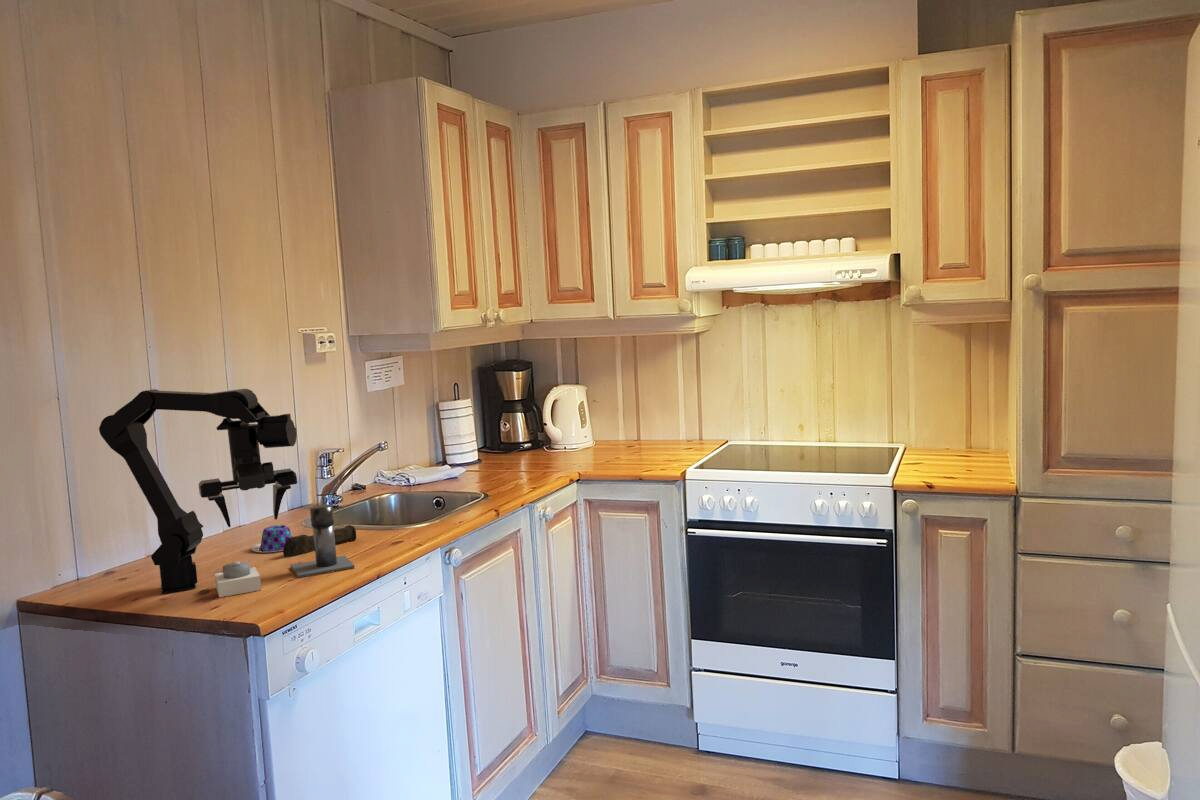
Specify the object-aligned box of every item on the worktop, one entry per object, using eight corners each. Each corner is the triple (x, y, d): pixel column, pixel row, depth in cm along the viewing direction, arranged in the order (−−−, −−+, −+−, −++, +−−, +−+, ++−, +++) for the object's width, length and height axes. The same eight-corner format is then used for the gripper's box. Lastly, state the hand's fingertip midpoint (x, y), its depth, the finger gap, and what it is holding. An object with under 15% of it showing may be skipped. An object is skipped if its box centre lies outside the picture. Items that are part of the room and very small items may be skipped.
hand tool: (349, 539, 225) (347, 521, 225) (357, 541, 222) (356, 523, 222) (278, 557, 211) (276, 538, 211) (287, 559, 209) (285, 540, 208)
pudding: (286, 555, 213) (284, 533, 212) (241, 555, 215) (239, 533, 215) (312, 541, 225) (310, 521, 224) (269, 541, 227) (267, 521, 227)
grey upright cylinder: (322, 568, 196) (317, 510, 195) (311, 565, 199) (305, 508, 198) (342, 563, 200) (336, 505, 198) (330, 560, 203) (325, 503, 202)
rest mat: (298, 578, 192) (297, 575, 192) (290, 567, 201) (290, 564, 201) (354, 568, 197) (354, 565, 197) (345, 558, 206) (345, 555, 206)
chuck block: (219, 597, 181) (216, 570, 181) (216, 587, 188) (213, 561, 188) (261, 589, 185) (258, 563, 184) (256, 580, 192) (254, 555, 191)
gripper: (199, 460, 175) (208, 538, 177) (297, 447, 184) (305, 522, 185) (194, 454, 185) (203, 528, 186) (288, 442, 193) (296, 513, 195)
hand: (252, 523), depth 188 cm, fingers open, 9 cm apart
